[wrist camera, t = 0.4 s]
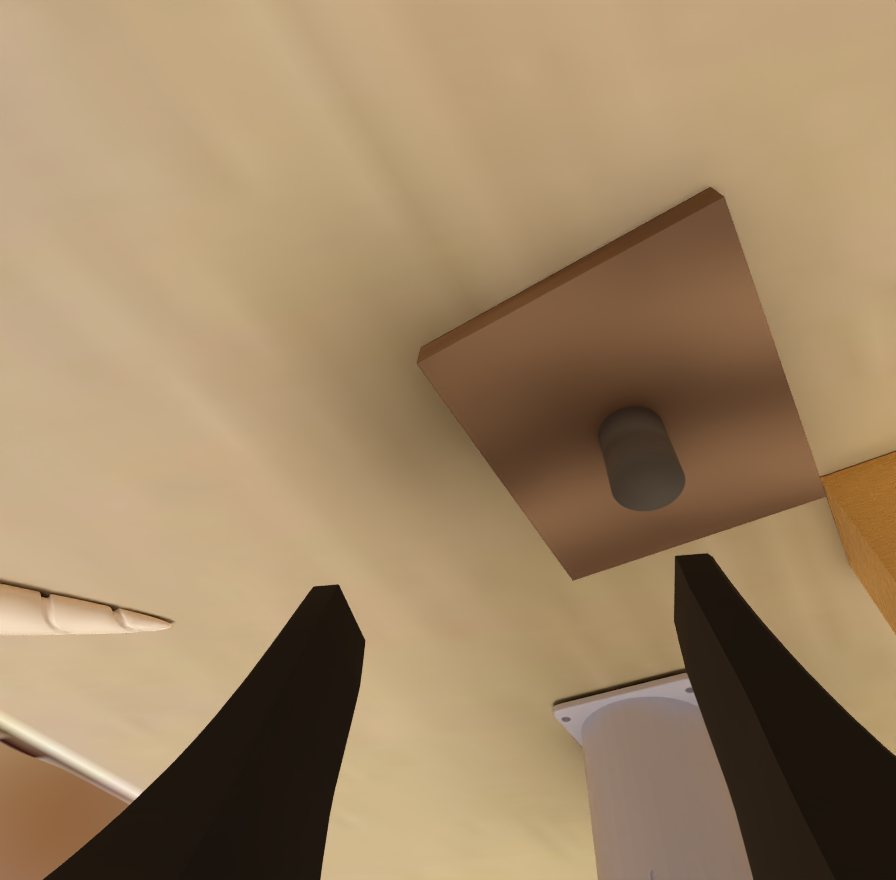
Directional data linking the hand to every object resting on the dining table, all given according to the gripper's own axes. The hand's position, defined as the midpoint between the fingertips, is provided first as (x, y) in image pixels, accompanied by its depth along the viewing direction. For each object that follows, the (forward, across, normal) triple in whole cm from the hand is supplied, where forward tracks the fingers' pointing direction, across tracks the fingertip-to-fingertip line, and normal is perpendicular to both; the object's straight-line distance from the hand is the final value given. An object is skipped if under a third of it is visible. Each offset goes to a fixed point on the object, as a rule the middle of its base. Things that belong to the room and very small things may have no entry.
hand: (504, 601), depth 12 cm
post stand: (+10, -4, +2) cm, 11 cm away
